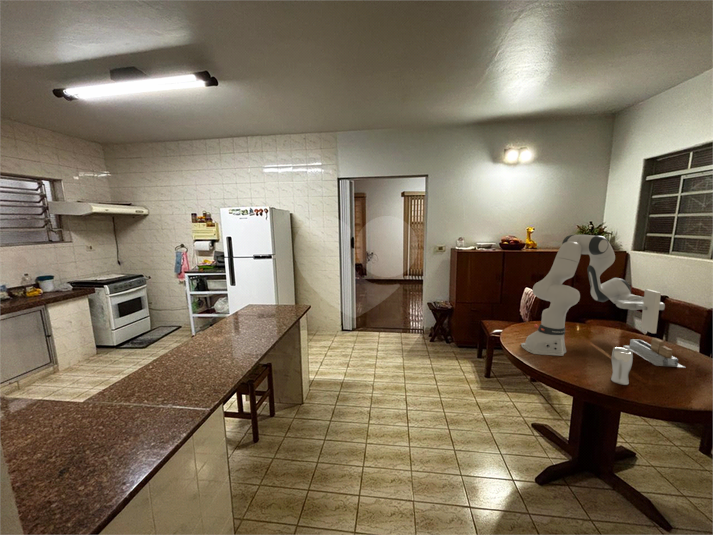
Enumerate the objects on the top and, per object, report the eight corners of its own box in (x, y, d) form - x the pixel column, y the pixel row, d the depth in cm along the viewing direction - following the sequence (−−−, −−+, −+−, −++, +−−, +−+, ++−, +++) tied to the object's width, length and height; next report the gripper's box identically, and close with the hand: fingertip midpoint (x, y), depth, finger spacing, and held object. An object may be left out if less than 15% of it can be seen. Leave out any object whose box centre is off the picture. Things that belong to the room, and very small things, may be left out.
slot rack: (655, 368, 141) (656, 357, 141) (622, 347, 165) (623, 338, 165) (685, 370, 138) (687, 359, 138) (647, 349, 162) (648, 340, 162)
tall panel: (651, 333, 150) (656, 292, 147) (640, 328, 158) (644, 289, 155) (656, 333, 150) (660, 292, 147) (645, 328, 158) (649, 289, 155)
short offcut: (665, 364, 141) (667, 349, 140) (657, 360, 146) (659, 345, 145) (670, 365, 141) (672, 349, 140) (662, 360, 146) (664, 345, 145)
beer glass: (633, 383, 128) (637, 351, 126) (624, 386, 126) (627, 354, 124) (615, 376, 135) (617, 346, 133) (606, 379, 132) (608, 348, 130)
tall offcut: (657, 359, 147) (659, 341, 145) (649, 355, 151) (651, 337, 150) (661, 360, 146) (664, 341, 145) (654, 356, 151) (656, 338, 150)
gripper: (611, 296, 168) (627, 302, 155) (653, 297, 163) (673, 303, 150) (610, 306, 169) (626, 313, 156) (652, 308, 164) (672, 315, 151)
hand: (649, 308), depth 153 cm, fingers closed on tall panel, 2 cm apart
